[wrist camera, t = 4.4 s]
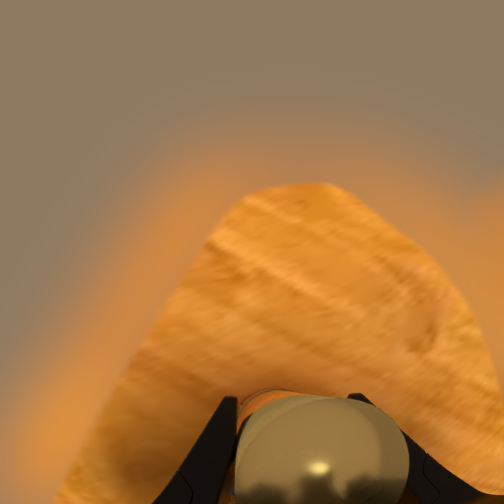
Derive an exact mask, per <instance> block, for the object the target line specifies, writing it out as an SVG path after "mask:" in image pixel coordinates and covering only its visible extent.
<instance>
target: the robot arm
mask: <svg viewBox="0 0 504 504" xmlns="http://www.w3.org/2000/svg"><path fill="white" fill-rule="evenodd" d="M347 399H354V400H359V401H362V402H365V403H368V404H371V405H373V406H375V405H374V404H373V403H371V402H370V401H369V400H368V399H367V398H366V397H365V396H364V395H363V394H361V393H352V394H349V395H348V398H347ZM237 403H238V398H237V397H236V396H225V397H224V398H223V399H222V401H221V403H220V404H219V406H218V408H217V409H216V411H215V412H214V414H213V416H212V417H211V419H210V420H209V422H208V424H207V425H206V427H205V428H204V430H203V432H202V433H201V435H200V436H199V438H198V439H197V441H196V443H195V444H194V446H193V447H192V449H191V450H190V452H189V454H188V455H187V457H186V458H185V460H184V461H183V463H182V464H181V466H180V467H179V469H178V471H177V472H176V473H175V475H174V476H173V478H172V479H171V480H170V482H169V483H168V485H167V486H166V487H165V489H164V490H163V491H162V492H161V494H160V495H159V496H158V497H157V498H156V499H155V500H154V502H153V503H152V504H228V503H229V497H230V491H231V486H232V480H233V474H234V468H235V455H236V442H237ZM375 407H376V406H375ZM400 430H401V429H400ZM401 432H402V434H403V436H404V438H405V441H406V444H407V447H408V453H409V472H408V477H407V482H406V485H405V488H404V490H403V493H402V495H401V497H400V499H399V501H398V503H397V504H504V495H491V494H486V493H483V492H481V491H478V490H477V489H475V488H474V487H472V486H470V485H469V484H467V483H466V482H464V481H463V480H461V479H460V478H458V477H457V476H456V475H454V474H453V473H451V472H450V471H449V470H447V469H446V468H444V467H443V466H442V465H441V464H439V463H438V462H437V461H436V460H435V459H433V458H432V457H431V456H430V455H429V454H428V453H426V452H425V451H424V450H423V449H422V448H421V447H420V446H419V445H418V444H416V443H415V442H414V441H413V440H412V439H411V438H410V437H409V436H408V435H406V434H405V433H404V432H403V431H402V430H401Z"/></svg>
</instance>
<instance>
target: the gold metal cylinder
mask: <svg viewBox="0 0 504 504" xmlns="http://www.w3.org/2000/svg"><path fill="white" fill-rule="evenodd" d="M408 472H409V453H408V447H407V444H406V441H405V438H404V436H403V434H402V432H401V430H400V428H399V427H398V426H397V424H396V423H395V422H394V421H393V420H392V419H391V418H390V417H389V416H388V415H387V414H386V413H384V412H383V411H382V410H380V409H379V408H377V407H375V406H373V405H371V404H368V403H365V402H362V401H359V400H354V399H347V398H337V397H328V396H319V395H311V394H304V393H297V392H293V391H289V390H284V389H267V390H262V391H259V392H256V393H254V394H253V395H251V396H250V397H248V398H247V399H246V400H245V401H244V402H243V404H242V405H241V407H240V409H239V411H238V414H237V442H236V455H235V497H236V502H237V504H397V503H398V501H399V499H400V497H401V495H402V493H403V490H404V488H405V485H406V482H407V477H408Z"/></svg>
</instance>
